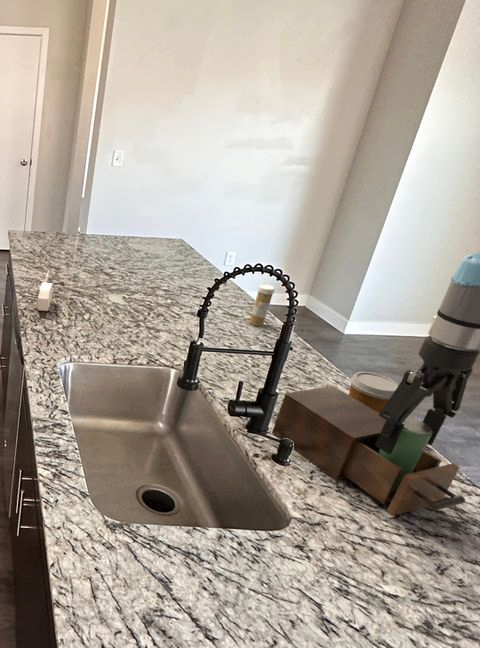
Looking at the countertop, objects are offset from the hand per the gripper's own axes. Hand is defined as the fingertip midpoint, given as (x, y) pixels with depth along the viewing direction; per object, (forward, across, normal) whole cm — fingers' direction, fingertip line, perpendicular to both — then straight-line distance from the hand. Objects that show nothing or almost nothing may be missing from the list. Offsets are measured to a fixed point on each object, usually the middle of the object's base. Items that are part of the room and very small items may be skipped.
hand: (403, 445), depth 103 cm
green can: (+9, 0, 0) cm, 9 cm away
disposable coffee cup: (+11, -17, -19) cm, 28 cm away
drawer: (+10, 0, +1) cm, 10 cm away
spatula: (+4, +27, -101) cm, 104 cm away
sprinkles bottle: (+11, -37, -73) cm, 82 cm away
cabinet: (+11, 0, -13) cm, 17 cm away
